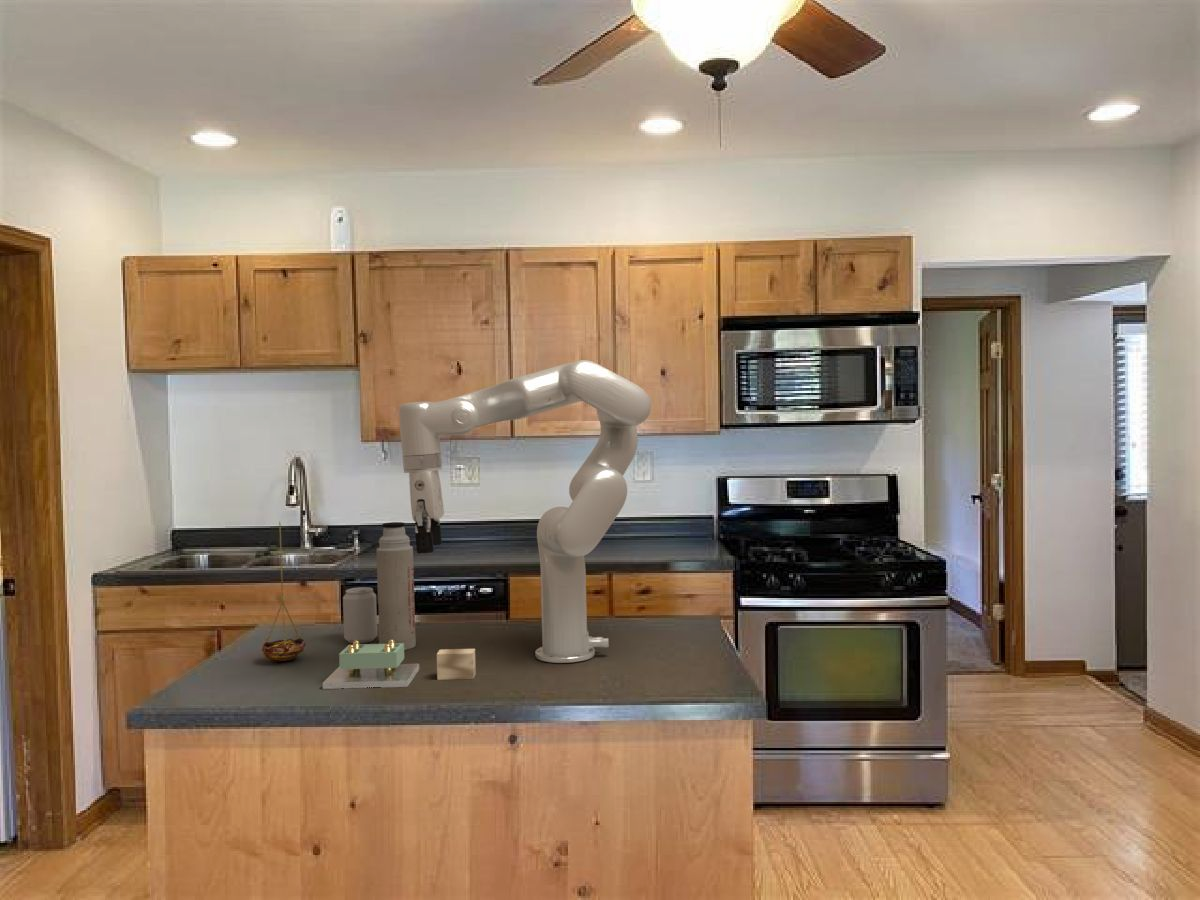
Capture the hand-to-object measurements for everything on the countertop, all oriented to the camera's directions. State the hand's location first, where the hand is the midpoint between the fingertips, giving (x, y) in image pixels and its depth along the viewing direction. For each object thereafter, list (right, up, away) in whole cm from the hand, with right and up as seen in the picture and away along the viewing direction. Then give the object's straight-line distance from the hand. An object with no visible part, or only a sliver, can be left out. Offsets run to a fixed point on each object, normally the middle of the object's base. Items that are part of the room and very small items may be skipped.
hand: (429, 548), depth 179 cm
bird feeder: (-33, -26, +12) cm, 44 cm away
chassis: (-11, -25, -3) cm, 28 cm away
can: (-22, -25, +29) cm, 44 cm away
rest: (+6, -25, -3) cm, 26 cm away
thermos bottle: (-11, -25, +22) cm, 35 cm away
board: (-11, -22, -3) cm, 25 cm away
